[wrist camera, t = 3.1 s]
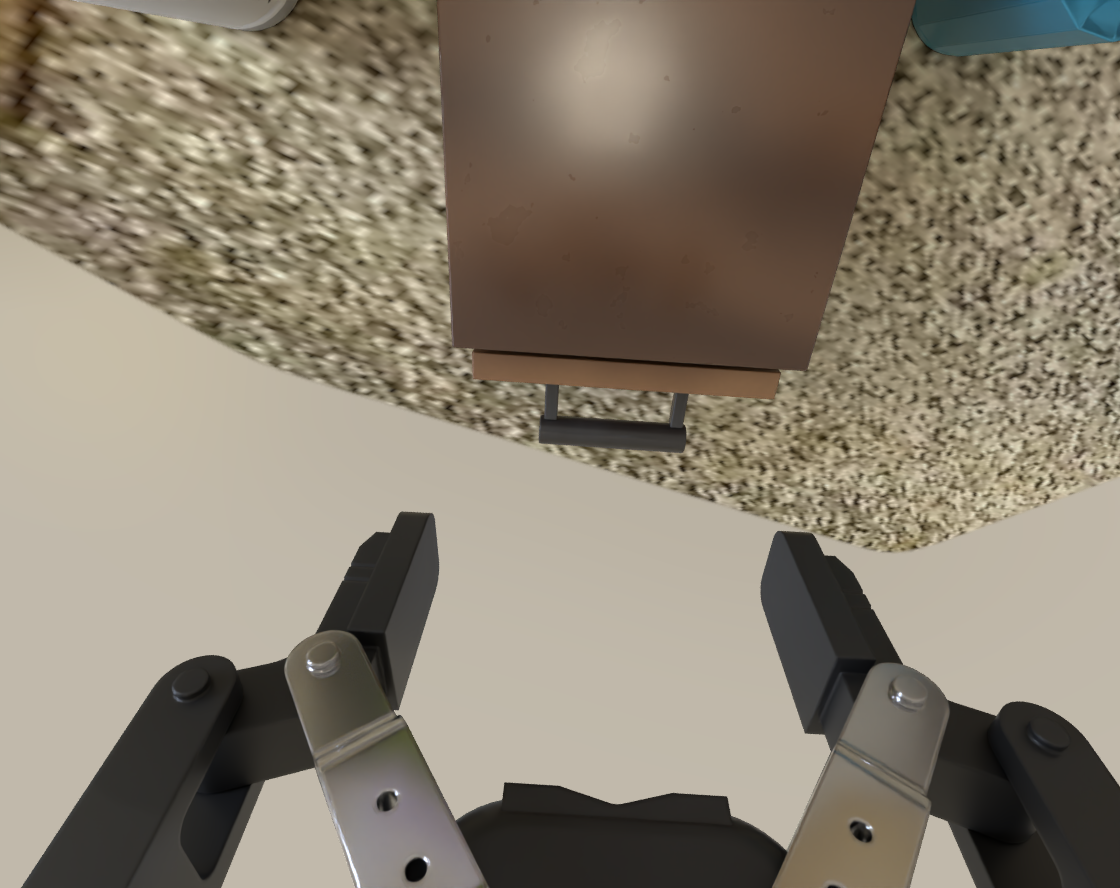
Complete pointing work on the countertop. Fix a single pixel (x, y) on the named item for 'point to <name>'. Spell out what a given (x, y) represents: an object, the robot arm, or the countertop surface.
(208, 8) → the travel mug
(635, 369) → the drawer
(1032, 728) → the robot arm
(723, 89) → the cabinet
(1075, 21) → the bottle
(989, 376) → the countertop surface
